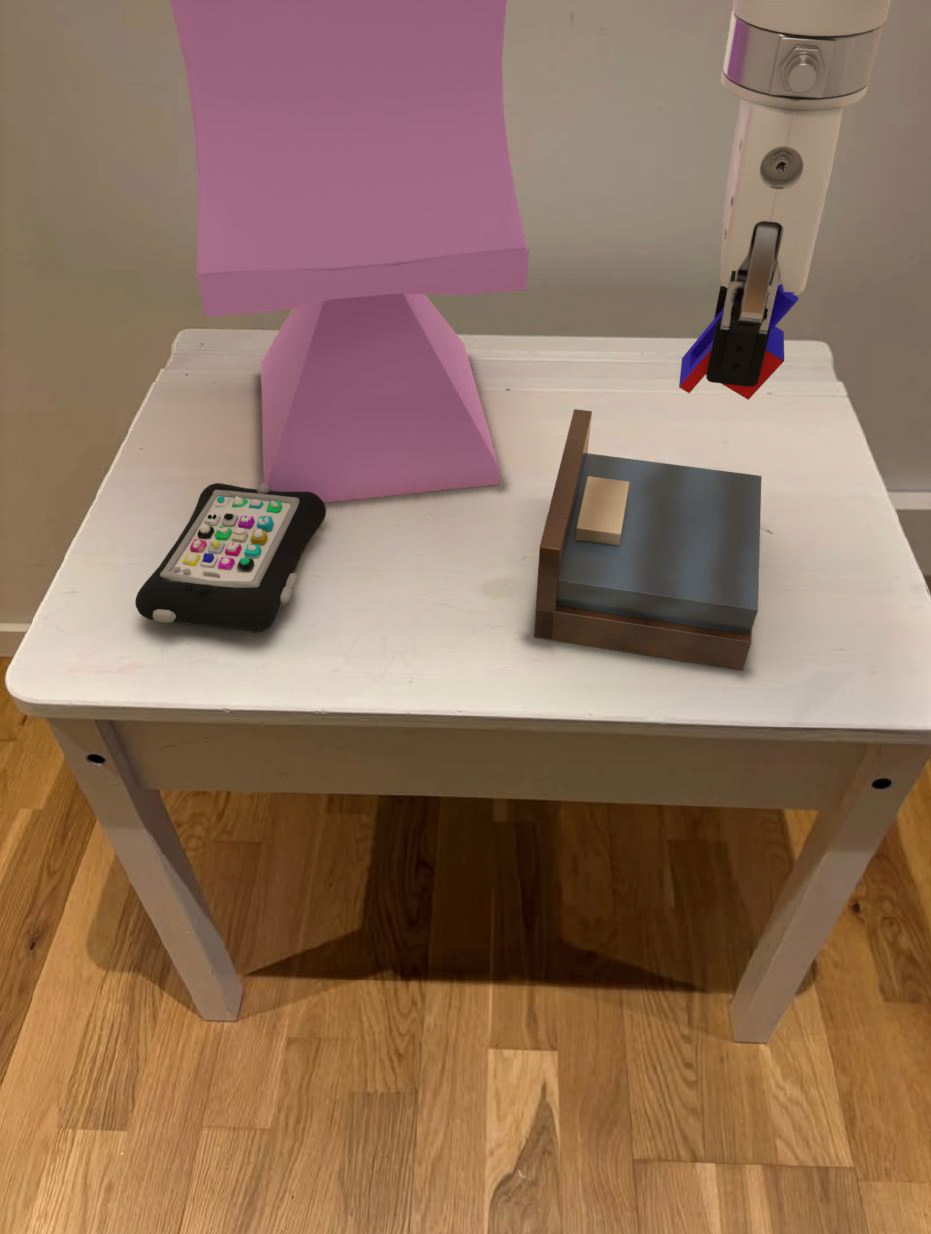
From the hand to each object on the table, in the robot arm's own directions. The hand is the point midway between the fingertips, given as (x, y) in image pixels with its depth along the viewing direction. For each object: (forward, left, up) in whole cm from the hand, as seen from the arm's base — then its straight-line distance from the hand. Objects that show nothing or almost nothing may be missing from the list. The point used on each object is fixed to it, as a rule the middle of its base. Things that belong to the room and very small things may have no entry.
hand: (733, 361), depth 64 cm
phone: (+34, +8, -18) cm, 40 cm away
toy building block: (0, 0, -2) cm, 2 cm away
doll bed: (+3, +2, -18) cm, 18 cm away
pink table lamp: (+29, -12, -18) cm, 36 cm away
